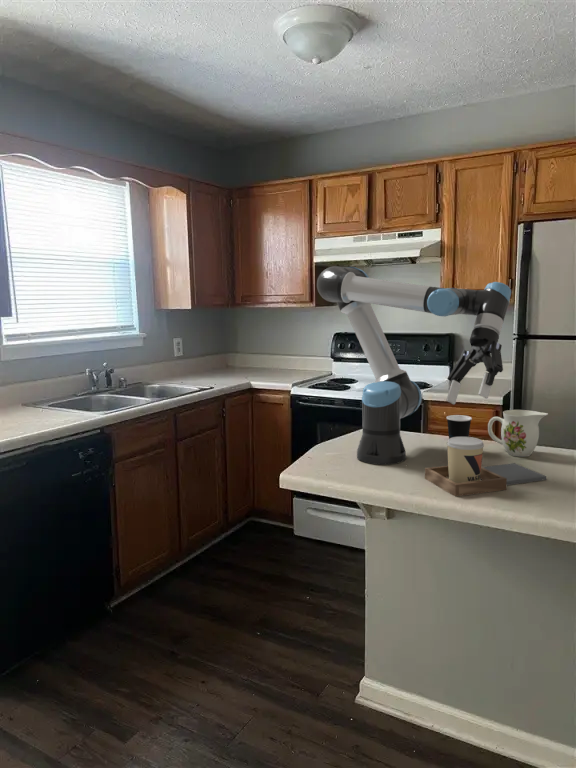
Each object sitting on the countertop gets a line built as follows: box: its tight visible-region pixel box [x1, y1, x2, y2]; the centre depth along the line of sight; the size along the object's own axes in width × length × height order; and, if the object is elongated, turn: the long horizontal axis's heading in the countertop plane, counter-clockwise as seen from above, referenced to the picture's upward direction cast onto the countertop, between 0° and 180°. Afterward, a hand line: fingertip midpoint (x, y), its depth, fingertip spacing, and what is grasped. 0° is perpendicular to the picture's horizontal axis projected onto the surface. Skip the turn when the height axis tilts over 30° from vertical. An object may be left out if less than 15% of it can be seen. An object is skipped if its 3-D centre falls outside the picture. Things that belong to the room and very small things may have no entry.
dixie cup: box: [445, 414, 473, 439], centre depth 180 cm, size 8×8×11 cm
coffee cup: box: [446, 436, 485, 483], centre depth 148 cm, size 9×9×12 cm
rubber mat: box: [482, 462, 547, 486], centre depth 155 cm, size 13×13×1 cm
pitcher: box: [487, 409, 549, 457], centre depth 176 cm, size 11×18×14 cm, turn 50°
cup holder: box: [424, 465, 507, 498], centre depth 149 cm, size 15×15×3 cm
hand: (466, 399), depth 153 cm, fingers open, 13 cm apart
